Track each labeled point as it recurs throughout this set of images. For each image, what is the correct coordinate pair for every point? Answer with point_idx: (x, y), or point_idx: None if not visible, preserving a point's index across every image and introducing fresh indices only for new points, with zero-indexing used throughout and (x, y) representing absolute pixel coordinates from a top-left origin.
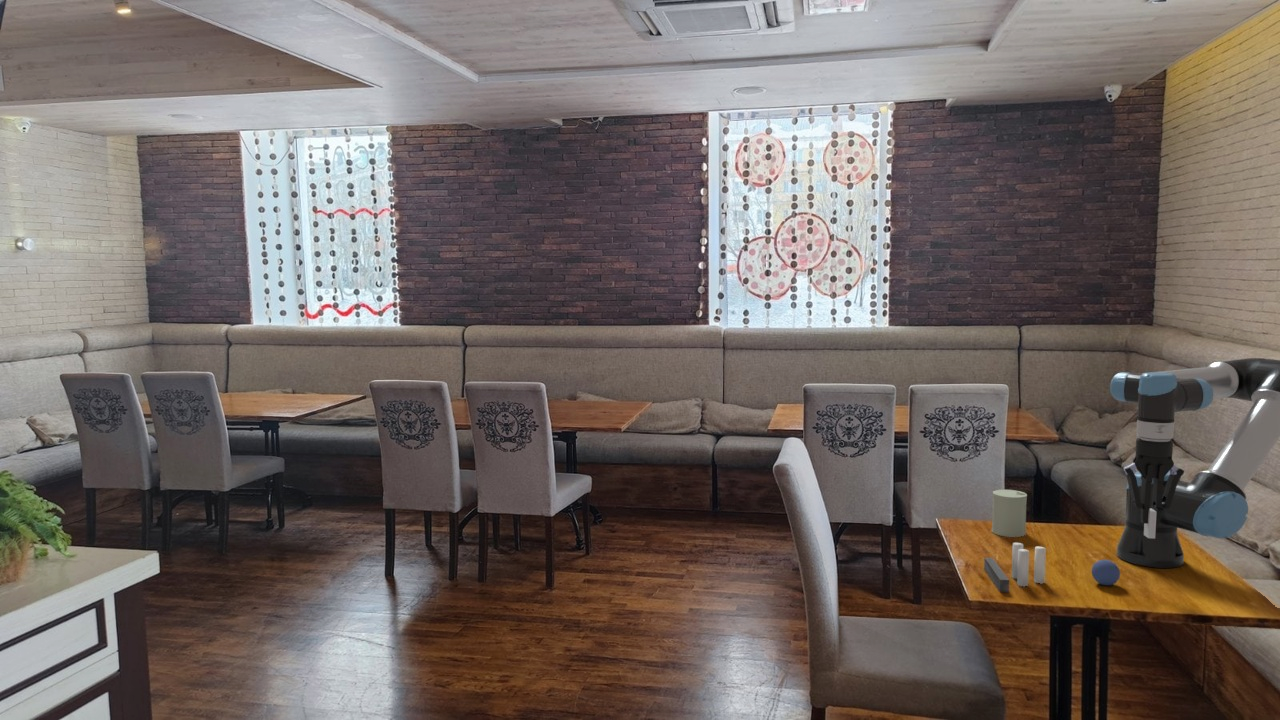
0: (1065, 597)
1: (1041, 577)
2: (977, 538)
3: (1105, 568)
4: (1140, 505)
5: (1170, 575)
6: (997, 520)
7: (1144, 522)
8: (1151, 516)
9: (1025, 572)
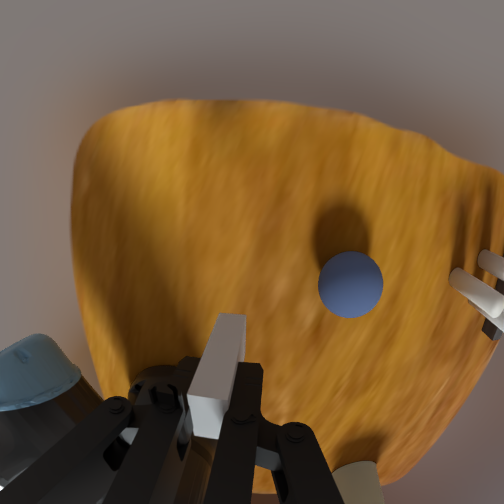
0: (450, 191)
1: (464, 271)
2: (411, 446)
3: (370, 267)
4: (288, 432)
5: (172, 333)
6: (378, 479)
7: (254, 366)
8: (221, 377)
9: (500, 257)
